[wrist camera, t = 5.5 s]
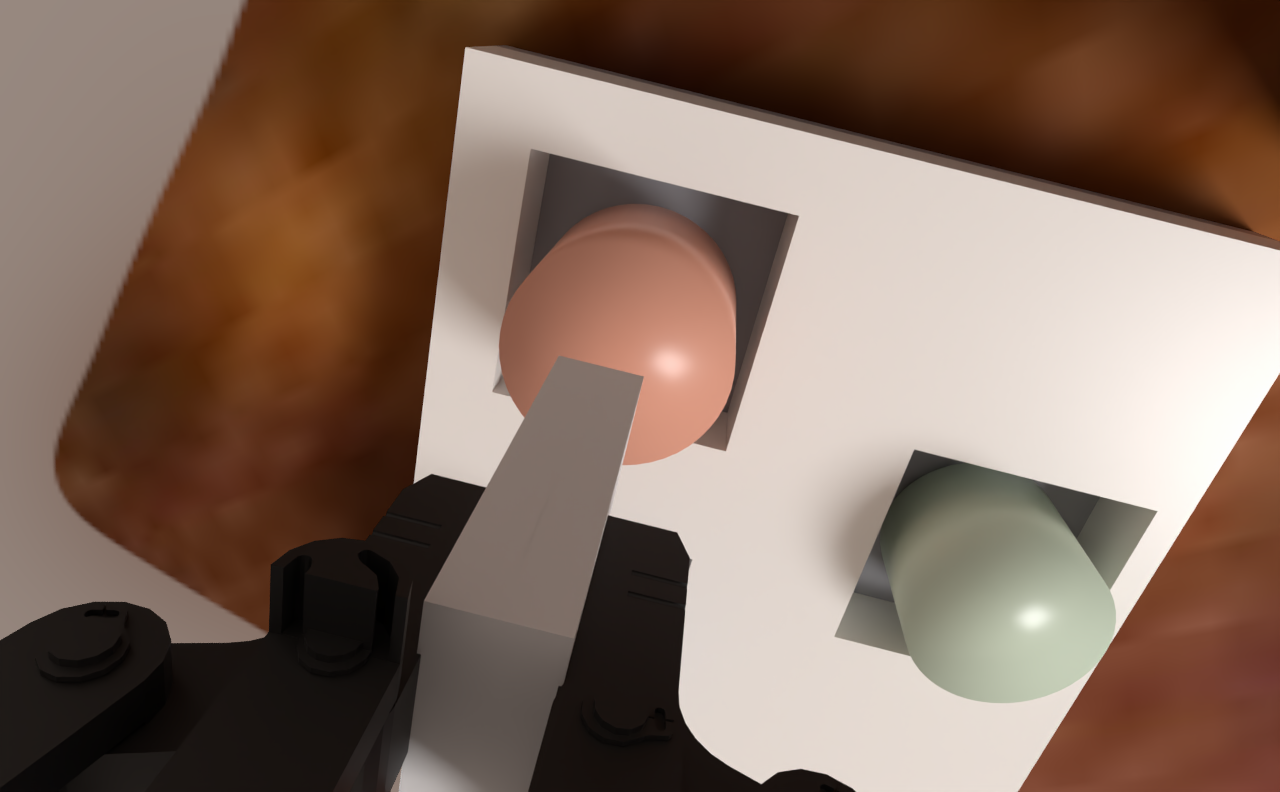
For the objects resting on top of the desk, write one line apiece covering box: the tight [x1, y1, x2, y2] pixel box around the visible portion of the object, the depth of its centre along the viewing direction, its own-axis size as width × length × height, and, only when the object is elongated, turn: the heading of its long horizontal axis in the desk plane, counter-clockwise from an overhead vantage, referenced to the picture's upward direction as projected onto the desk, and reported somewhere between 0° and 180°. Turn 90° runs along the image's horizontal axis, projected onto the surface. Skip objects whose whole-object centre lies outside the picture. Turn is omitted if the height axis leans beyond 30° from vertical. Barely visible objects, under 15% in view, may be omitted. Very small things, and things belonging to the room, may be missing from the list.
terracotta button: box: [499, 204, 736, 465], centre depth 19 cm, size 5×5×4 cm
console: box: [414, 45, 1280, 792], centre depth 23 cm, size 20×20×3 cm
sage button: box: [880, 463, 1116, 703], centre depth 22 cm, size 5×5×4 cm
